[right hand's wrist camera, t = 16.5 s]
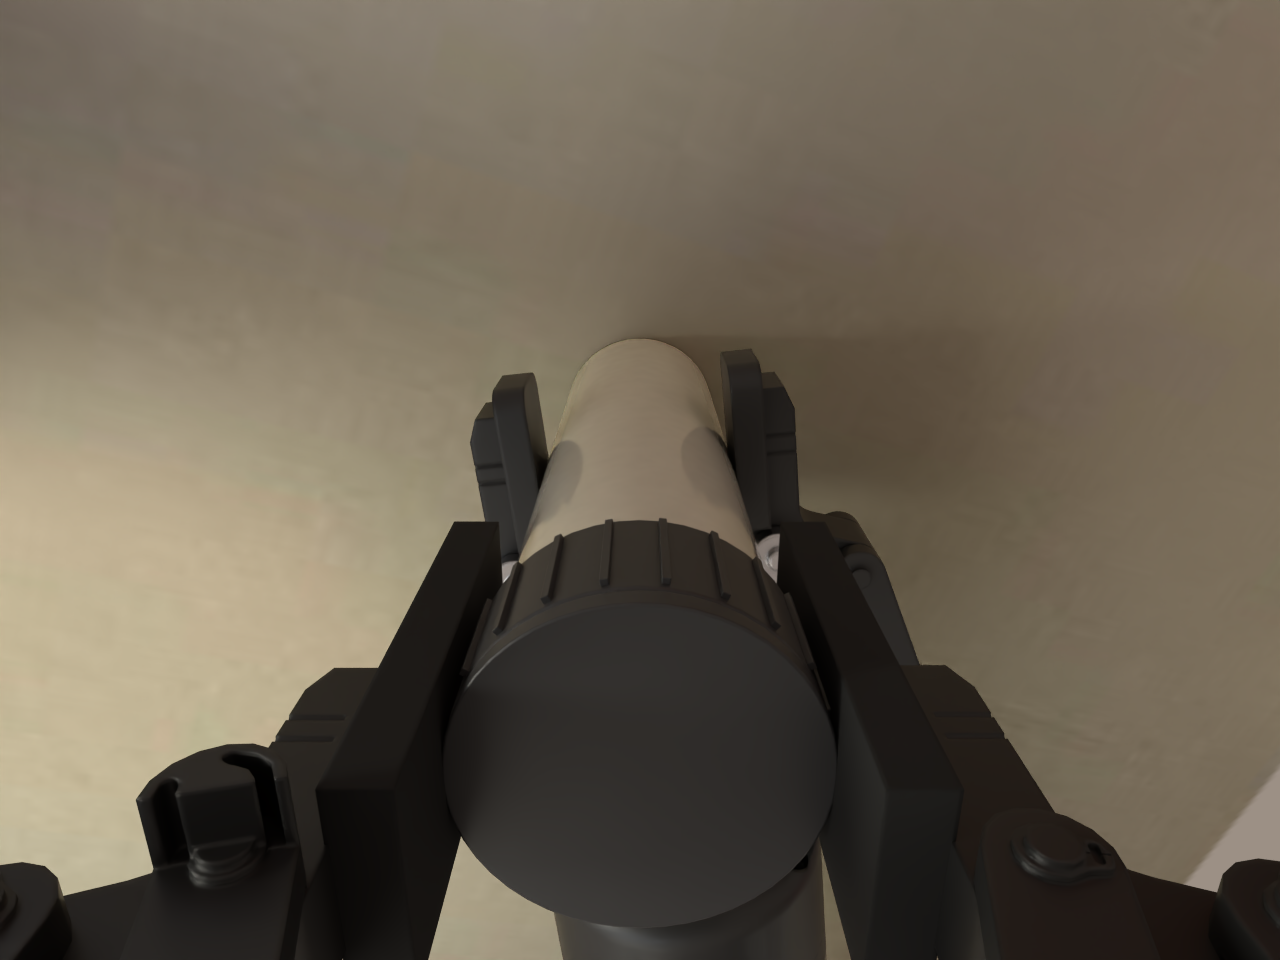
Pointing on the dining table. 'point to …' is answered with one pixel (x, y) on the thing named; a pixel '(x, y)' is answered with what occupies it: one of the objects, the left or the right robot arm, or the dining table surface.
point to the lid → (639, 729)
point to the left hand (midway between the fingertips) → (624, 372)
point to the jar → (639, 451)
